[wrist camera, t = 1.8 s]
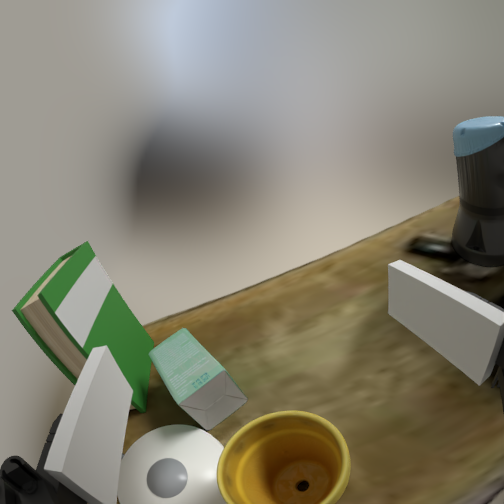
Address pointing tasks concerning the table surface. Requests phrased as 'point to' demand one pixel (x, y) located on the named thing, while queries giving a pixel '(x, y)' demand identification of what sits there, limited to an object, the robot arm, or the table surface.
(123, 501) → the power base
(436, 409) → the table surface
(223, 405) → the box
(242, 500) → the plant pot
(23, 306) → the hardback book
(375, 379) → the table surface
